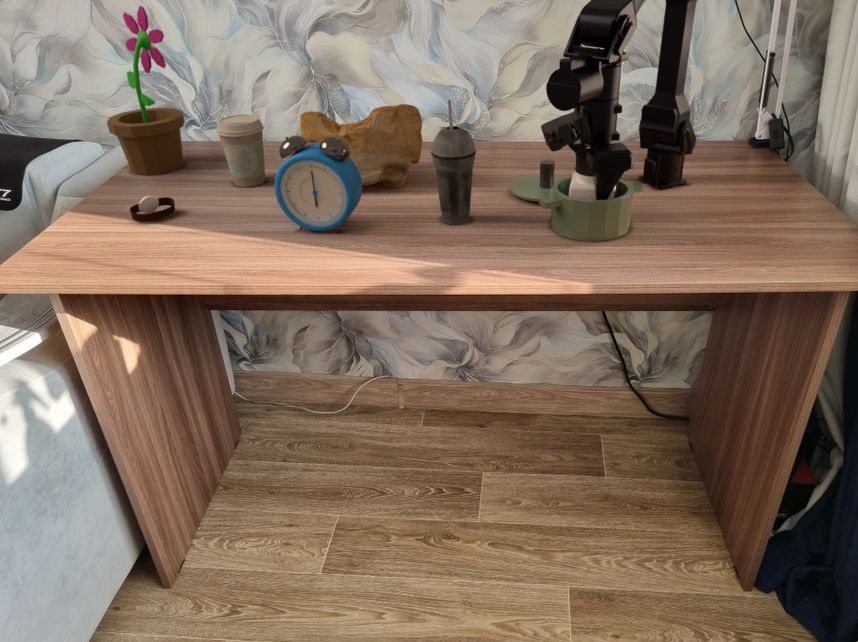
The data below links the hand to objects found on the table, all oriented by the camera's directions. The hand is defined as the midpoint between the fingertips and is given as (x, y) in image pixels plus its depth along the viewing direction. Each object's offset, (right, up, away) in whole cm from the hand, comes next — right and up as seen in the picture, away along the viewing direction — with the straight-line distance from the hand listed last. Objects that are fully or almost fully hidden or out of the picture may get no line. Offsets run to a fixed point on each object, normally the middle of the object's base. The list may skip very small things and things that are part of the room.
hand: (592, 195), depth 118 cm
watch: (-75, -2, +10) cm, 75 cm away
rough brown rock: (-39, +8, +24) cm, 46 cm away
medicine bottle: (0, -4, +3) cm, 5 cm away
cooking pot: (0, -4, +3) cm, 5 cm away
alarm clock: (-44, -4, +5) cm, 45 cm away
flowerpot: (-84, +13, +33) cm, 91 cm away
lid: (-6, +5, +16) cm, 18 cm away
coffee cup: (-62, +8, +24) cm, 67 cm away
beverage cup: (-22, -3, +6) cm, 23 cm away
